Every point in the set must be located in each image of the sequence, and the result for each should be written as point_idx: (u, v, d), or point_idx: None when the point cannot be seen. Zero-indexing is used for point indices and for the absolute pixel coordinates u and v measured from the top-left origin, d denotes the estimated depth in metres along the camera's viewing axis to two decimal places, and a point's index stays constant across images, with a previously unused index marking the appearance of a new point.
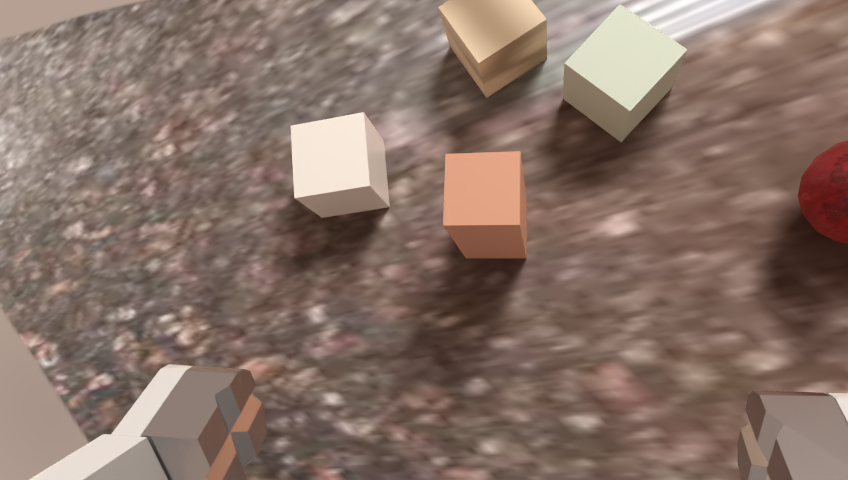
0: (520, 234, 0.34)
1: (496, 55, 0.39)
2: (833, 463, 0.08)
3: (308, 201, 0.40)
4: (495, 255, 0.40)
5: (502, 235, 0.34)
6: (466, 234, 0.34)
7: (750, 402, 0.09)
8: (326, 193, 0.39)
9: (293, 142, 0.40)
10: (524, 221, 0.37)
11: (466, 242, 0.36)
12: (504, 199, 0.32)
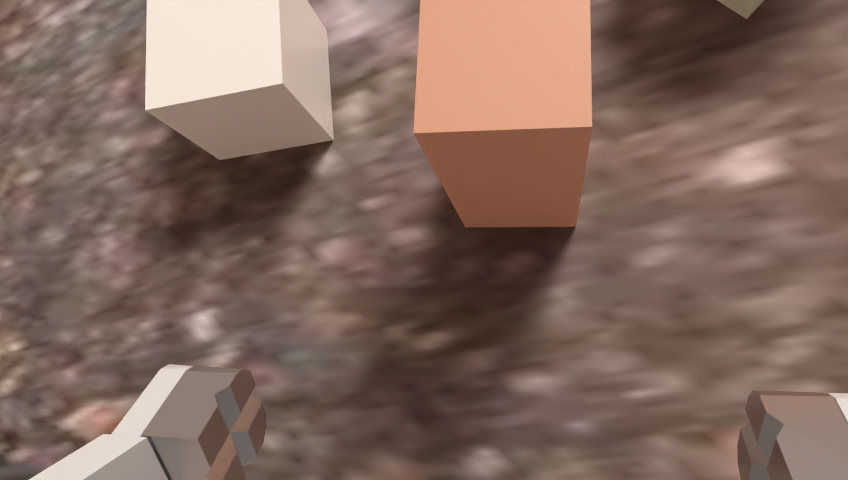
0: (583, 161, 0.15)
1: None
2: (833, 463, 0.08)
3: (177, 120, 0.22)
4: (519, 220, 0.21)
5: (543, 165, 0.16)
6: (466, 162, 0.16)
7: (750, 402, 0.09)
8: (203, 99, 0.21)
9: (150, 12, 0.22)
10: None
11: (466, 187, 0.18)
12: (555, 71, 0.14)
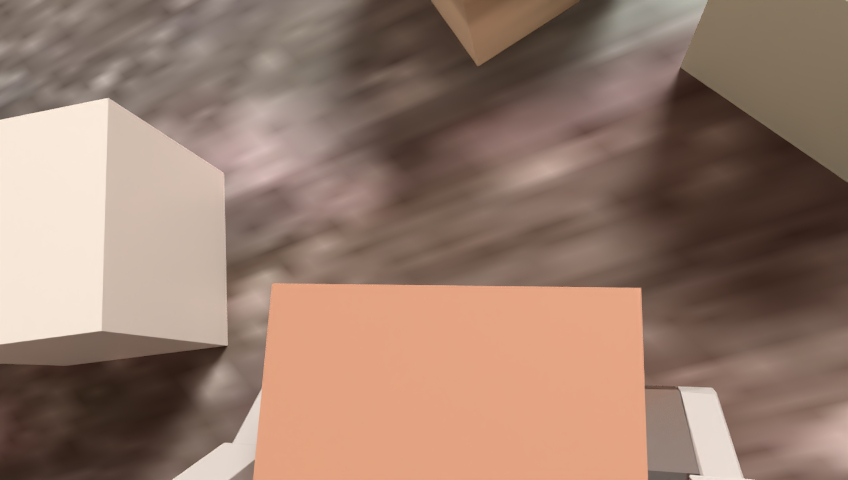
0: None
1: None
2: (663, 452, 0.08)
3: None
4: None
5: None
6: None
7: None
8: None
9: None
10: None
11: None
12: None
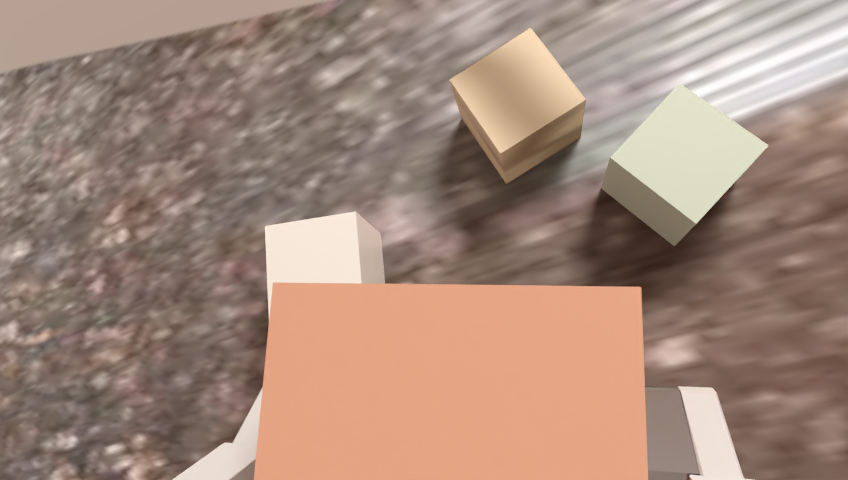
0: None
1: (522, 143, 0.31)
2: (663, 452, 0.08)
3: None
4: None
5: None
6: None
7: None
8: None
9: (268, 247, 0.32)
10: None
11: None
12: None
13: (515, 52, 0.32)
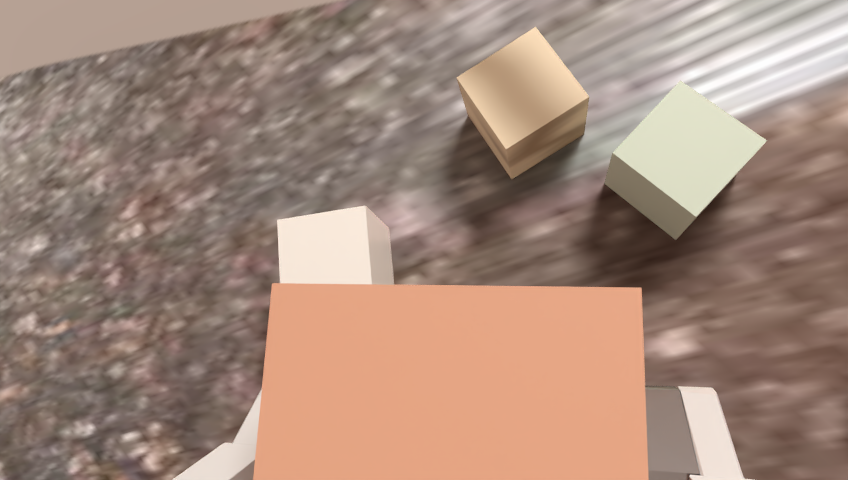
0: None
1: (527, 139, 0.32)
2: (663, 452, 0.08)
3: None
4: None
5: None
6: None
7: None
8: None
9: (280, 240, 0.33)
10: None
11: None
12: None
13: (520, 51, 0.33)
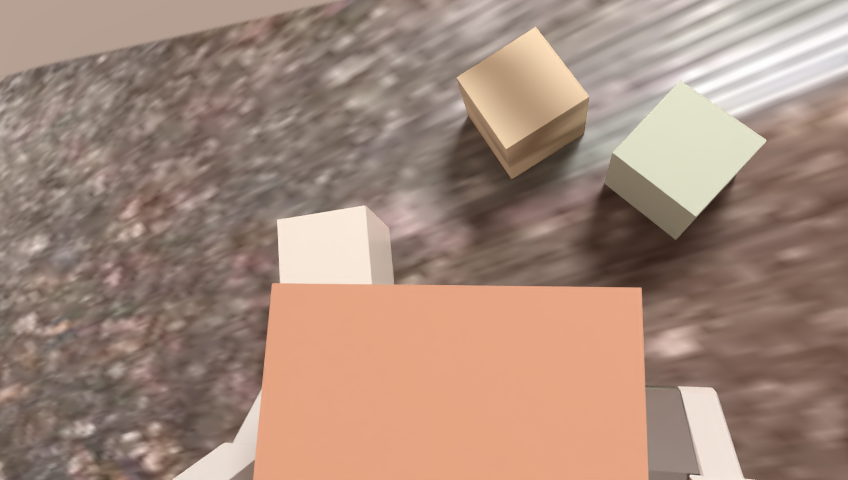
0: None
1: (527, 139, 0.32)
2: (663, 452, 0.08)
3: None
4: None
5: None
6: None
7: None
8: None
9: (280, 240, 0.33)
10: None
11: None
12: None
13: (520, 51, 0.33)
